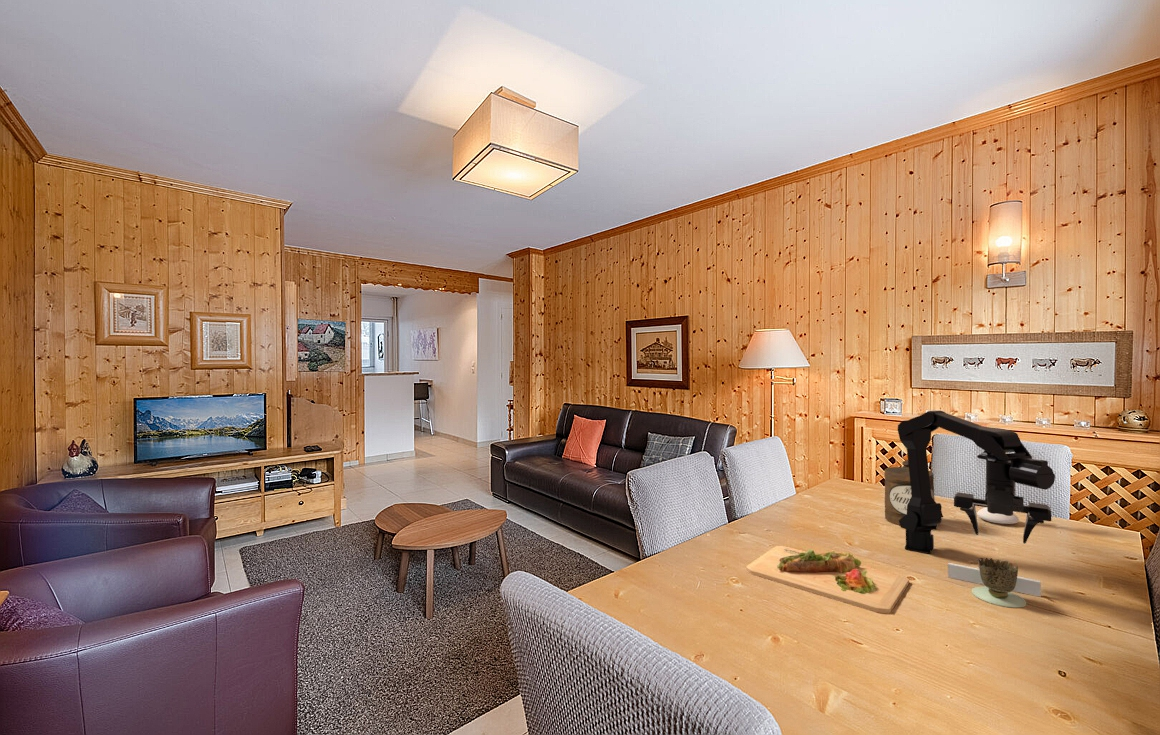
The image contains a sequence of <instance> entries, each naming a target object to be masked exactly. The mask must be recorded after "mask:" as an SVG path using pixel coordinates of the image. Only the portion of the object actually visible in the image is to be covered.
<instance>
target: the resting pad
mask: <svg viewBox="0 0 1160 735" xmlns="http://www.w3.org/2000/svg"><path fill="white" fill-rule="evenodd" d="M988 590H989V588H988V587H986V586H976V587H972V588H971V593H972V595H973V596H974V597H975V598H977V599H979V600H981V601H983V602H985V603H989V604H991V605H995V606H999V607H1003V608H1011V609H1012V608H1013V609H1019V608H1020V609H1022V608H1024V607H1026V606H1027V601H1026V600H1025V599H1024V598H1023V597H1021V596H1020V595H1018V594H1016V593H1014V592H1012V591H1011V592H1007V593H1008V597H1007V598H997V597H994V596H992V595H991V594H990V593H989V591H988Z"/></svg>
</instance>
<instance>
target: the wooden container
mask: <svg viewBox="0 0 1160 735" xmlns="http://www.w3.org/2000/svg"><path fill="white" fill-rule="evenodd" d="M901 464H902V465H903V466H893V467H887V468H884V518H885V520H886V521H887V522H889V523H892V524H894V525H898V526H900V523H899V520H900V519H901V518H903V517H904V516H905V515H906V514H907V504H908V503H909V501H910V499H911V497H912V493H911V483H910V474H909V465H908V459H906V460H905V459H904V460H903V461H902V463H901ZM929 478H930V487H931V496H932V498H933V499H934V501H935V502H936V500H935V485H934V484H935V483H934V473H933V472H931V471H930V470H929Z"/></svg>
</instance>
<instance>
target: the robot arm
mask: <svg viewBox="0 0 1160 735" xmlns="http://www.w3.org/2000/svg"><path fill="white" fill-rule="evenodd" d="M939 428H940V429H943V430H945V431H948V432H951V433H952V434H956V435H958V436H960V437H963V438H965V439H968V440H970V441H972V442H973V443H974V444H975V445H976V446H977V447H978V448H979V449H981V450H984V451H983V452H981V453H980V454H978V455H977V456H976V457H977V458H978V459H979V460H985V494H984V495H985V497H984V499H982V498H975V496H974V495H975V494H974V493H973V494H972V493H966V492H957V493H955V494H954V496H953V506H954V507H955V508H959V510H960V511H961V512H964V513H966V515H967V517H968V519H969V520H970V523H971V525H972V528H973V530H974V532H975V535H976V536H979V524H978V523H979V522H978V515H977V510H976V507H982V508H984V507H987V511H988V512H989V513H993V514H995V513H997V514H1003V515H1006V516H1012V515H1013V513H1014V512H1015V513H1021V514H1026V518H1025V523H1024V529H1023V536H1022V539H1023V540H1022V542H1023V543H1022V544H1027V541H1028V539H1029V537H1030V535H1031V533H1032V531H1033V530H1034V528H1035V527H1036V526H1037V525H1038V524H1044V523H1045V521H1046V522H1052V509H1051V507H1050V505H1048V504H1044V503H1036V502H1030V501H1029V502H1028V505H1025V504H1024V497H1023V496H1019V495H1018V496H1017V495H1016V484H1019V485H1023V486H1027V487H1031V488H1036V489H1040V490H1049V489H1050V488H1052V486H1053V485H1054V483H1055V479H1056V474H1055V473H1054V470H1053V469H1052V468H1051V467H1050V466H1049V465H1048V464H1049V461H1048V460H1043V459H1035V458H1033V456H1032V455H1031V452H1029V451H1028V449H1027V448H1026V446H1025V445H1024V444H1023V443H1022V441H1021V439H1020V436H1019V435H1018V433H1017V432H1015V431H1013V430H1011V429H1005V428H999V427H989V426H988V427H987V426H984V425H981V424H977V423H975V422H973V421H972V422H971V421H969V420H966V419H963V418H961V417H958V416H956V415H952V414H950V413H947V412H945V411H943V410H928V411H926V412H924V413H922V414H920V415H918V416H916V417H915V416H914V417H913V418H910V419H908V420H906V419H905V420H902V421H900V422H899V424H897V433H898V437H899V441H900V443H902V444H903V446H904V448H905V449H906V454H907V460H908V465H909V474H910V483H911V493H912V497H911V499H910V501H909V503H908V504H907V514H906V515H905V516H904V517H903V518H901V519H900V520H899V523H900V525H899V526H900V528H901V529H903V530H905V546H904V549H905V550H908V551H913V552H919V553H922V554H923V553H924V554H932V551H934V549H935V539H934V534H932V531H934V530H935V531H936V530H937V528H938V526H939V524H940V523H941V522H942V518H944V514H943V511H942V508H943V507H942V504H941V503H940V502H936V500H935V498H934V499H933V498H932V496H931V487H930V478H929V471H930V470H929V462H928V455H927V454H928V452H927V447H929V444H930V443H931V440H932V432H934V431H936V430H938V429H939ZM1006 453H1008V454H1006ZM934 500H935V501H934Z"/></svg>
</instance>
